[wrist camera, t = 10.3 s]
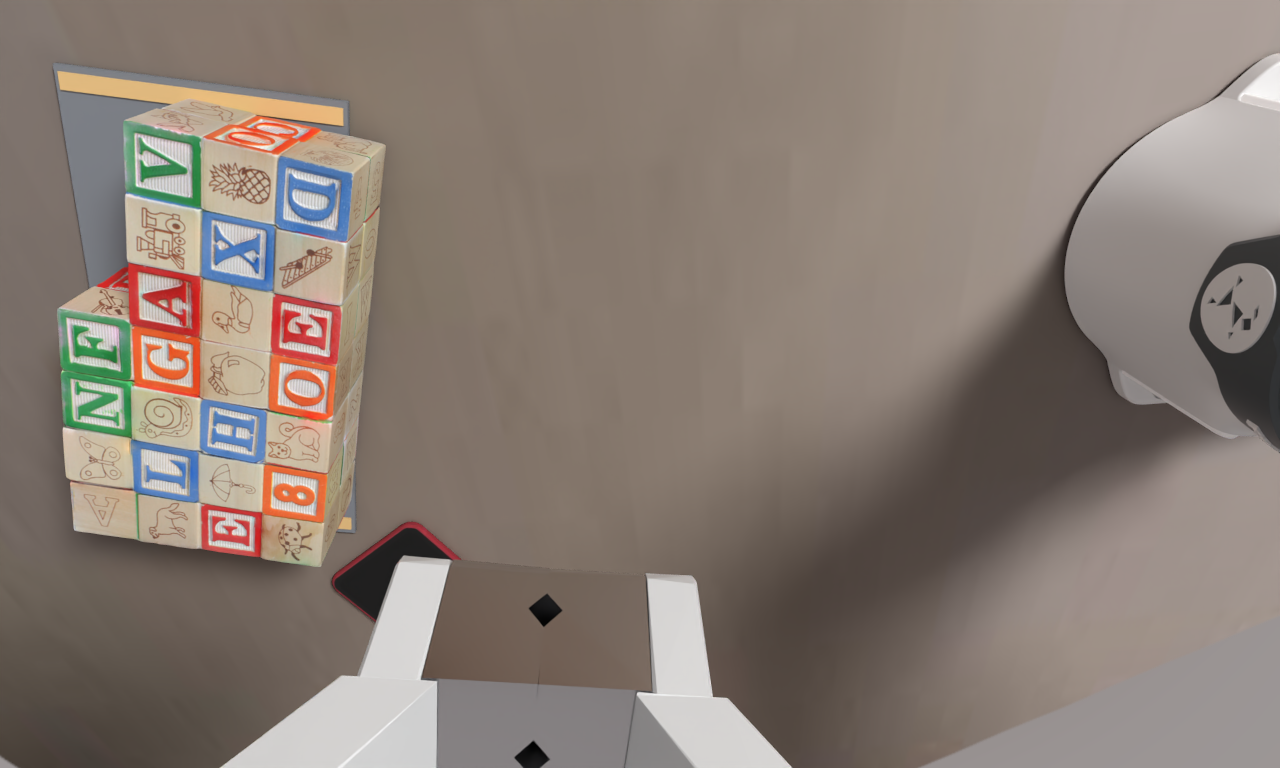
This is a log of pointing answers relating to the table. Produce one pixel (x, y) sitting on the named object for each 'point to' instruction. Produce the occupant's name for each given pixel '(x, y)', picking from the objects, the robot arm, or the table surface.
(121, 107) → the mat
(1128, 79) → the table surface
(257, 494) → the stack of blocks
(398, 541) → the smartphone
